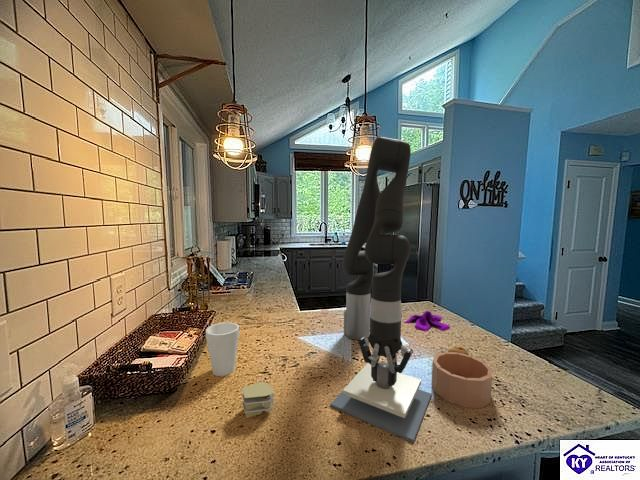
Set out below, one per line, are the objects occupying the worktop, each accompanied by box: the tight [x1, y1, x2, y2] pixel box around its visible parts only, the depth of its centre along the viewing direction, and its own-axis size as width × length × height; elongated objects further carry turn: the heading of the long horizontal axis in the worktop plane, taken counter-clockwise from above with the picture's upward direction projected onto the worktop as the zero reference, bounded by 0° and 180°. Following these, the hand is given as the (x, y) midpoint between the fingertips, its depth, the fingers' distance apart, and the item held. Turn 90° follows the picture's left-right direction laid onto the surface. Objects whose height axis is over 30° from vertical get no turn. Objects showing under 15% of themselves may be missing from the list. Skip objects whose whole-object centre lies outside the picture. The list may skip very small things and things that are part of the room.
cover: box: [342, 361, 422, 418], centre depth 70 cm, size 15×15×6 cm
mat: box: [329, 388, 432, 443], centre depth 71 cm, size 20×18×1 cm
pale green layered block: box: [241, 381, 275, 419], centre depth 67 cm, size 10×9×6 cm
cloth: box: [404, 310, 451, 332], centre depth 122 cm, size 22×19×6 cm
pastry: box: [447, 346, 470, 355], centre depth 90 cm, size 9×7×4 cm
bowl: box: [431, 351, 493, 409], centre depth 75 cm, size 14×14×7 cm
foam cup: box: [205, 322, 240, 377], centre depth 83 cm, size 10×9×13 cm
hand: (383, 382), depth 70 cm, fingers closed on cover, 3 cm apart
